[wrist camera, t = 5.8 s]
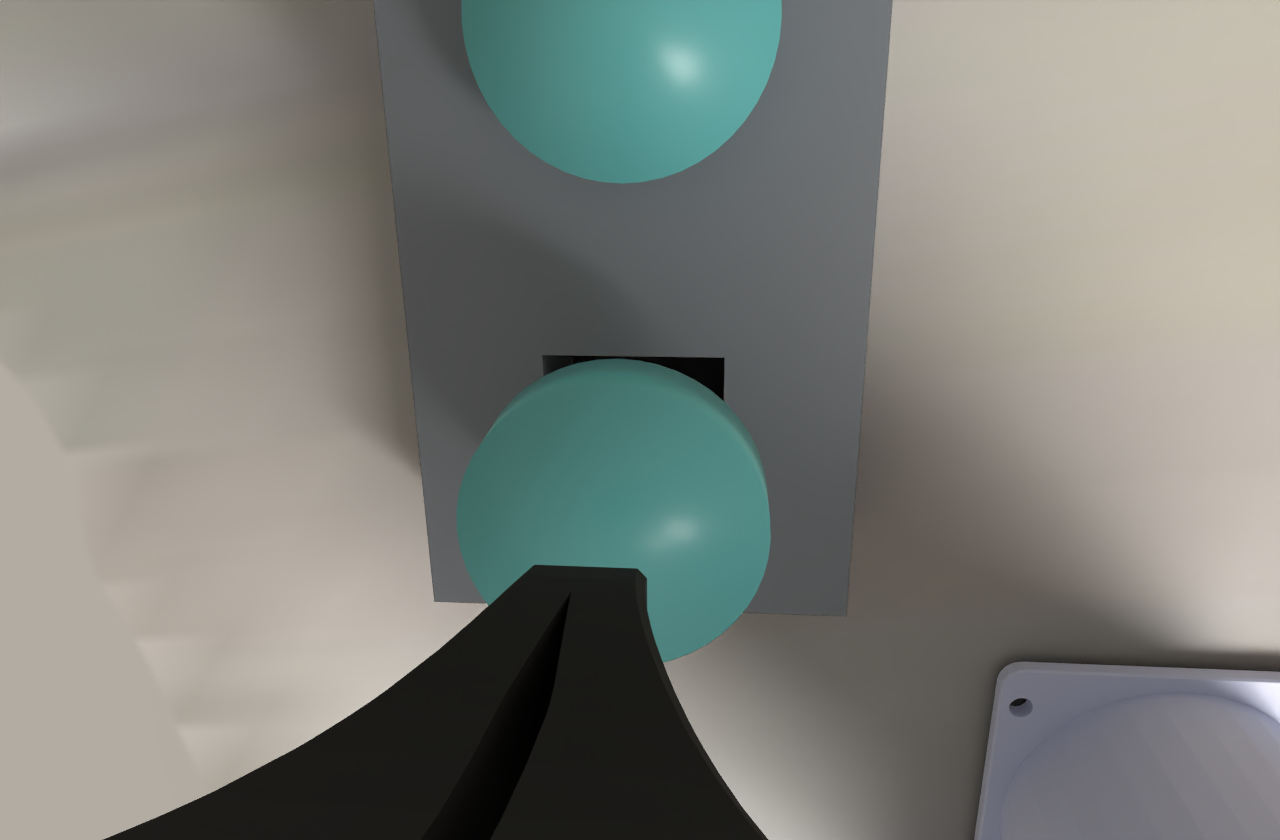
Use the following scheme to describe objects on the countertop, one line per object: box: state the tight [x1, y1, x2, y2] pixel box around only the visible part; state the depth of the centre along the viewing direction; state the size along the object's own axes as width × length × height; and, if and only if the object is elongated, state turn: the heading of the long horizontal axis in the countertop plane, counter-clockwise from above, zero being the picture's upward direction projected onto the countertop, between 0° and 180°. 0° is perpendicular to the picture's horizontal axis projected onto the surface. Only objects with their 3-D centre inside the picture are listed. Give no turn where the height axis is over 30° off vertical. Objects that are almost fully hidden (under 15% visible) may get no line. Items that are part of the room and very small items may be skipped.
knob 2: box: [456, 359, 771, 662], centre depth 16 cm, size 5×5×4 cm
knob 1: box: [461, 0, 782, 184], centre depth 16 cm, size 5×5×4 cm
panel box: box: [373, 0, 892, 616], centre depth 18 cm, size 14×8×3 cm, turn 1°
